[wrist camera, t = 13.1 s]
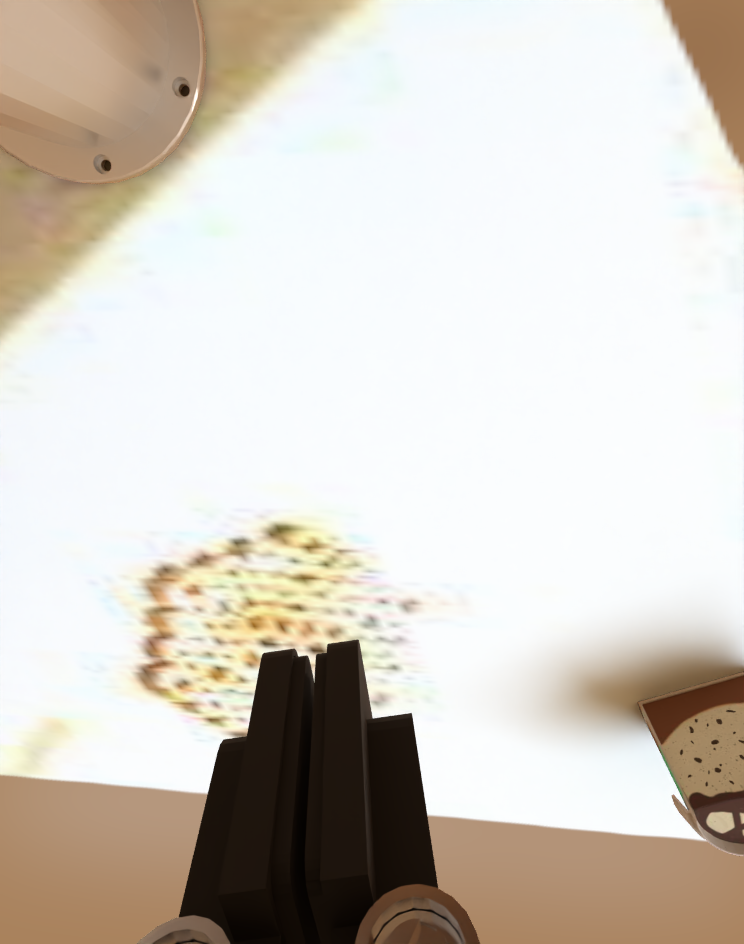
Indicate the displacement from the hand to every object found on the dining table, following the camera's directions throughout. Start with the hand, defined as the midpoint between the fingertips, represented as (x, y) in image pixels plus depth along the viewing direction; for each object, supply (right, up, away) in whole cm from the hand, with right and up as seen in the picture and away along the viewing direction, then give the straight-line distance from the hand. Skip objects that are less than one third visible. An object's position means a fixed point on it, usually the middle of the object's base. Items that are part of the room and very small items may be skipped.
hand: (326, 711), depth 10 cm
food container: (+28, -15, +37) cm, 49 cm away
